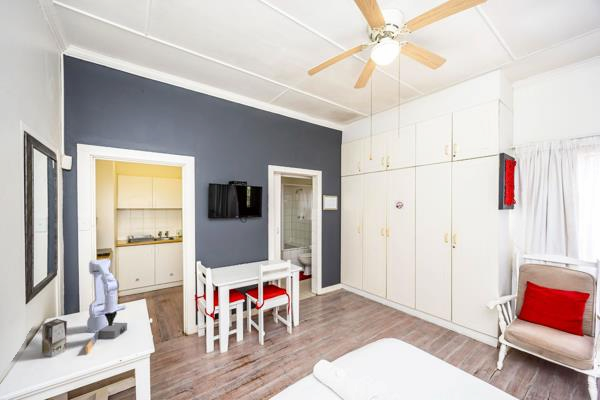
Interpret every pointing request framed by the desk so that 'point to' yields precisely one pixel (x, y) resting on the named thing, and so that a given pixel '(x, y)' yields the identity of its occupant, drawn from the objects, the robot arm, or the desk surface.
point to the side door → (91, 343)
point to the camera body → (112, 331)
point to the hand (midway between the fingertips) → (110, 325)
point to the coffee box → (54, 337)
